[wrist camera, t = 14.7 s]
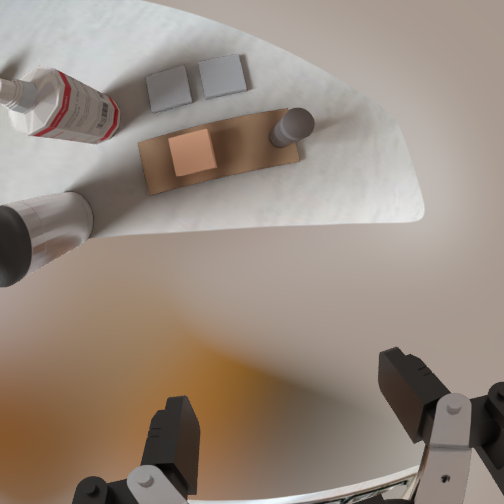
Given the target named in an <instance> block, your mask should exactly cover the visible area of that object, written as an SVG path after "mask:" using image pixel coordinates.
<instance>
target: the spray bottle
mask: <svg viewBox="0 0 504 504" xmlns="http://www.w3.org/2000/svg"><path fill="white" fill-rule="evenodd" d="M0 104H1V105H2V107H5V109H9V111H8V117H9V120H10V122H11V125H12V127H13V130H14V131H16V132H19V133H22V134H25V135H28V136H37V137H46V138H54V139H62V140H70V141H77V142H84V143H91V144H99V143H101V142H104V141H106V140H109V139H110V138H111V137H112V135H113V134H114V133H115V131H116V130H117V129H118V127H119V123H120V114H121V111H120V109H119V107H118V106H117V104H116V102H115V101H114V100H113V99H112V98H110V97H108V96H106V95H104V94H102V93H100V92H99V91H97V90H95V89H93V88H91V87H89V86H87V85H85V84H83V83H82V82H80V81H78V80H76V79H74V78H72V77H70V76H68V75H66V74H64V73H62V72H60V71H58V70H56V69H54V68H49V67H42V66H38V67H36V68H35V69H33V70H32V71H30V72H28V73H27V74H25V75H24V76H22V78H21V80H17V79H16V80H14V79H13V80H10V81H8V80H5V79H1V78H0Z"/></svg>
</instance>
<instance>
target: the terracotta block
mask: <svg viewBox="0 0 504 504" xmlns="http://www.w3.org/2000/svg"><path fill="white" fill-rule="evenodd" d="M168 140H169V145H170V150H171V154H172V159H173V164H174V168H175V173H176V176H184V175H188V174H192V173H196V172H200V171H204V170H209V169H213V168H217V163H216V159H215V154H214V150H213V145H212V140H211V136H210V133H209V131H208V130H207V129H203V130H199V131H195V132H191V133H187V134H183V135H179V136H176V137H172V138H168Z"/></svg>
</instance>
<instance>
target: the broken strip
mask: <svg viewBox="0 0 504 504" xmlns="http://www.w3.org/2000/svg"><path fill="white" fill-rule="evenodd" d="M198 65H199V70H200V75H201V80H202V85H203V89H204V94H205V98H206V99H211V98H215V97H220V96H224V95H229V94H234V93H239V92H245V91H247V88H246V84H245V79H244V75H243V71H242V67H241V63H240V58H239V54H234V55H228V56H223V57H218V58H213V59H209V60H204V61H200V62H198ZM146 83H147V89H148V94H149V100H150V105H151V111H152V113H157V112H161V111H164V110H168V109H171V108H175V107H178V106H182V105H186V104H190V103H193V102H192V97H191V92H190V87H189V82H188V77H187V72H186V68H185V65H184V66H180V67H176V68H173V69H169V70H166V71H162V72H159V73H155V74H152V75H149V76H146Z"/></svg>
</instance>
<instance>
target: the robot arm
mask: <svg viewBox="0 0 504 504" xmlns="http://www.w3.org/2000/svg"><path fill="white" fill-rule="evenodd" d="M92 228H93V215H92V211H91V208H90V206H89V204H88V202H87V201H86V200H85V199H84V197H82V196H81V195H80V194H77V193H75V192H64V193H58V194H52V195H47V196H42V197H37V198H32V199H27V200H23V201H18V202H14V203H10V204H5V205H1V206H0V287H8V286H11V285H13V284H15V283H16V282H18V281H20V280H21V279H23V278H25V277H26V276H28V275H29V274H31V273H33V272H34V271H36V270H38V269H39V268H41V267H43V266H44V265H46V264H48V263H49V262H51V261H53V260H55V259H57V258H58V257H60V256H62V255H64V254H65V253H67V252H69V251H71V250H73V249H75V248H76V247H78V246H80V245H82V244H83V243H84V242H85V241H87V239H88V238H89V236H90V234H91V232H92ZM378 383H379V387H380V390H381V392H382V394H383V395H384V397H385V399H386V400H387V402H388V403H389V405H390V406H391V408H392V409H393V411H394V413H395V414H396V416H397V417H398V419H399V421H400V422H401V424H402V425H403V427H404V429H405V430H406V432H407V433H408V435H409V437H410V438H411V440H412V441H413V443H414V444H415V443H417V442H419V441H421V440H423V441H424V443H425V444H426V445H425V448H424V452H423V456H422V459H421V464H420V467H419V470H418V474H417V477H416V480H415V484H414V487H413V489H412V492H411V495H410V497H409V500H405V499H387V500H384V499H383V497H382V495H381V494H379V495H377V496H374V497H371V498H368V499H365V500H362V501H359V502H356V503H353V504H463V501H464V496H465V491H466V486H467V480H468V474H469V467H470V461H471V453H472V452H471V451H472V450H471V448H473V447H474V449H475V450H476V451H477V453H478V455H479V456H480V458H481V459H482V461H483V463H484V464H485V466H486V467H487V469H488V470H489V472H490V474H491V475H492V477H493V479H494V480H495V482H496V484H497V485H498V487H499V489H500V490H501V492H502V494H503V495H504V382H498V383H496V384H494V385H493V386H492V387H491V388H490V389H489V392H488V395H485V396H482V397H477V398H473V399H468V398H467V397H466V396H464V395H462V394H459V393H451V392H450V391H449V390H448V389H447V388H446V387H445V386H444V385H443V384H442V382H441V381H440V380H439V379H438V378H437V377H436V376H435V374H434V373H432V371H431V370H430V369H429V368H428V367H427V366H426V365H425V364H424V362H423V361H422V360H421V359H420V358H417V357H416V356H413V355H411V354H409V355H406V356H405V355H404V354H403V352H402V351H401V350H400V349H399V348H398V347H394V348H391V349H388V350H385V351H382V352H380V354H379V372H378ZM149 429H150V430H149V432H148V438H147V440H146V444H145V448H144V453H143V457H142V461H141V465H140V466H139V467H137V468H135V469H134V470H133V471H132V472H131V473H130V474H129V476H128V478H127V479H124V480H120V481H116V482H111V483H106V482H105V481H104V480H103V479H102V478H100V477H96V476H91V477H87V478H85V479H83V480H82V481H81V482H80V483H79V484H78V486H77V488H76V491H75V495H74V498H73V502H72V504H189V503H188V502H187V496H188V495H196V494H197V477H198V461H199V445H200V426H199V422H198V419H197V417H196V415H195V413H194V410H193V408H192V406H191V404H190V401H189V399H188V397H187V396H177V397H169V398H168V399H167V402H166V407H165V410H158V411H157V413H156V414H155V415H154V417H153V418H152V420H151V424H150V428H149Z"/></svg>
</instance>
